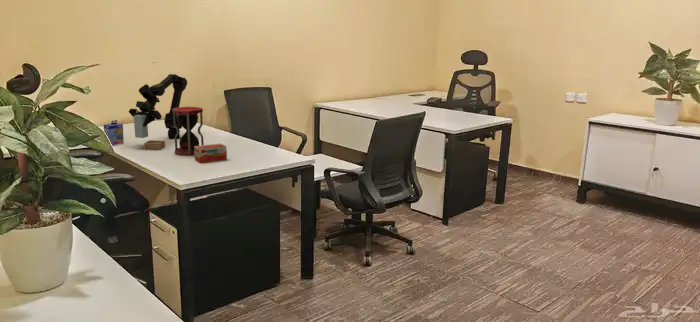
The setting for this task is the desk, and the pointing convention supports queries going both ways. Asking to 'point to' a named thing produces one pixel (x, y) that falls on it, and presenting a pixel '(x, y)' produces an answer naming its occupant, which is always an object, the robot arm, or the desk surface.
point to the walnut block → (154, 145)
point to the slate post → (140, 126)
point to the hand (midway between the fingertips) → (139, 126)
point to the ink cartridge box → (114, 132)
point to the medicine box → (210, 153)
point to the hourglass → (187, 129)
